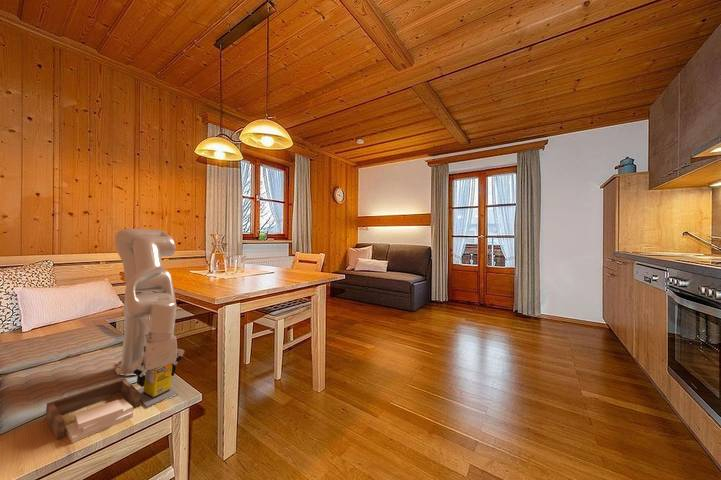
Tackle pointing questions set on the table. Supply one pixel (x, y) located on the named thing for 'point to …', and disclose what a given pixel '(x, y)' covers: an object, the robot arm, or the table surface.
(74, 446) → the table surface
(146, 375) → the supplement box
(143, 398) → the rubber mat
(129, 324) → the robot arm
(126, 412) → the offcut stack
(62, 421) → the brown wooden tray
